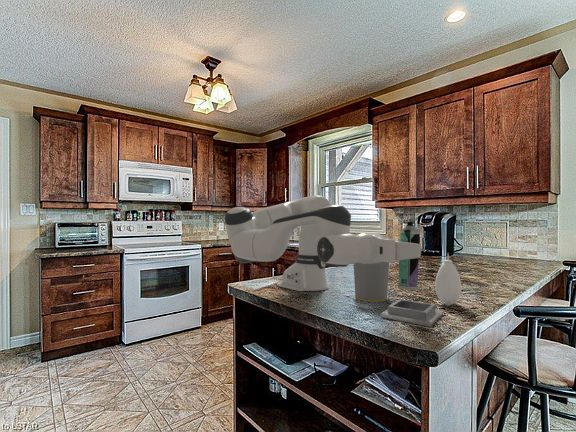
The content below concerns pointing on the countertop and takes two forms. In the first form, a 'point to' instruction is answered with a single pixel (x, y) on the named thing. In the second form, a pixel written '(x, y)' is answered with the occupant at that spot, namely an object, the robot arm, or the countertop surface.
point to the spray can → (409, 266)
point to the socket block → (412, 312)
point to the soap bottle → (371, 281)
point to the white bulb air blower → (448, 283)
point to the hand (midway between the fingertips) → (411, 247)
